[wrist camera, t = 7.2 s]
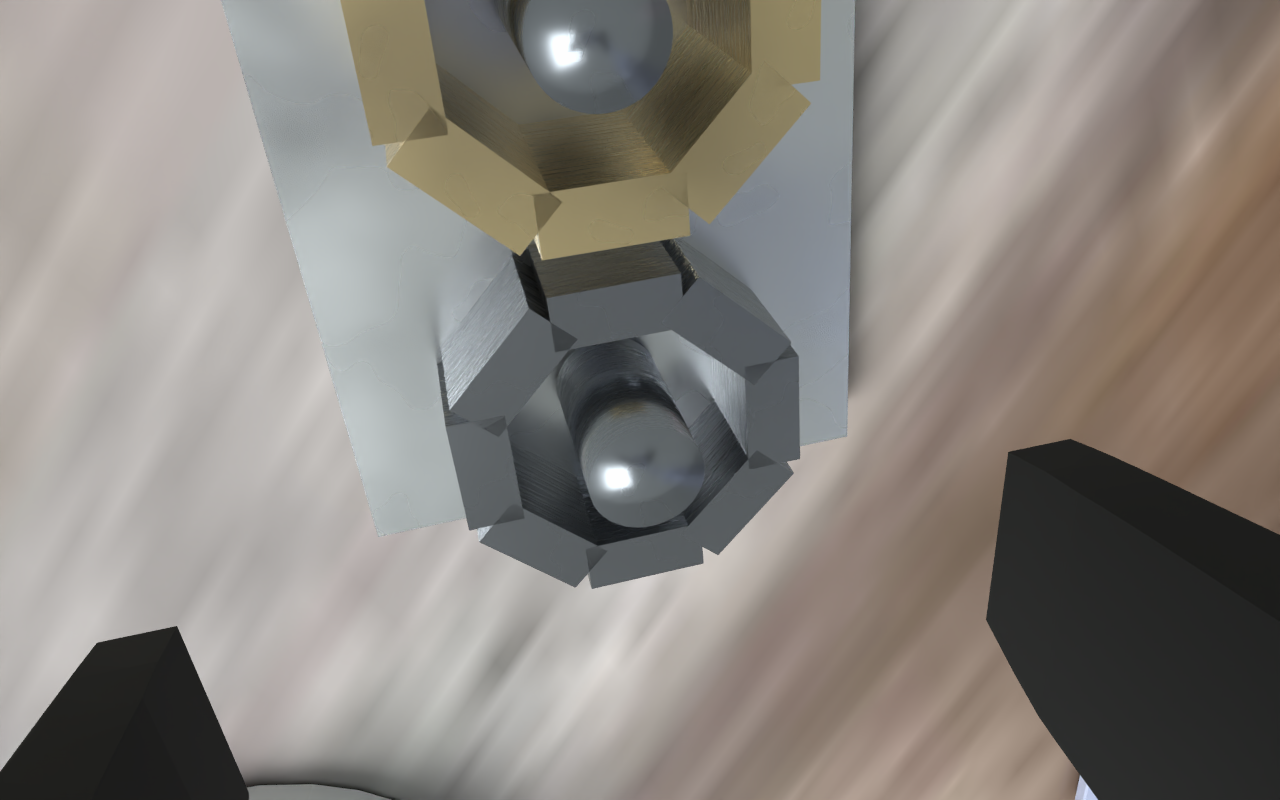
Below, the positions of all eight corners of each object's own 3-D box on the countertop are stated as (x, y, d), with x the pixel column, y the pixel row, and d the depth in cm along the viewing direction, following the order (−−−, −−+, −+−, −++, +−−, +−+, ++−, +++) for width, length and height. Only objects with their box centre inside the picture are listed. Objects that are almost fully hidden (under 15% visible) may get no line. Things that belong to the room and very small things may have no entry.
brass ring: (739, -268, 14) (825, -278, 11) (748, 147, 17) (817, 214, 14) (303, -228, 13) (289, -230, 10) (395, 202, 16) (402, 283, 13)
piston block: (831, -227, 15) (967, -227, 12) (827, 431, 21) (915, 555, 18) (189, -151, 14) (134, -128, 10) (384, 527, 20) (388, 679, 17)
